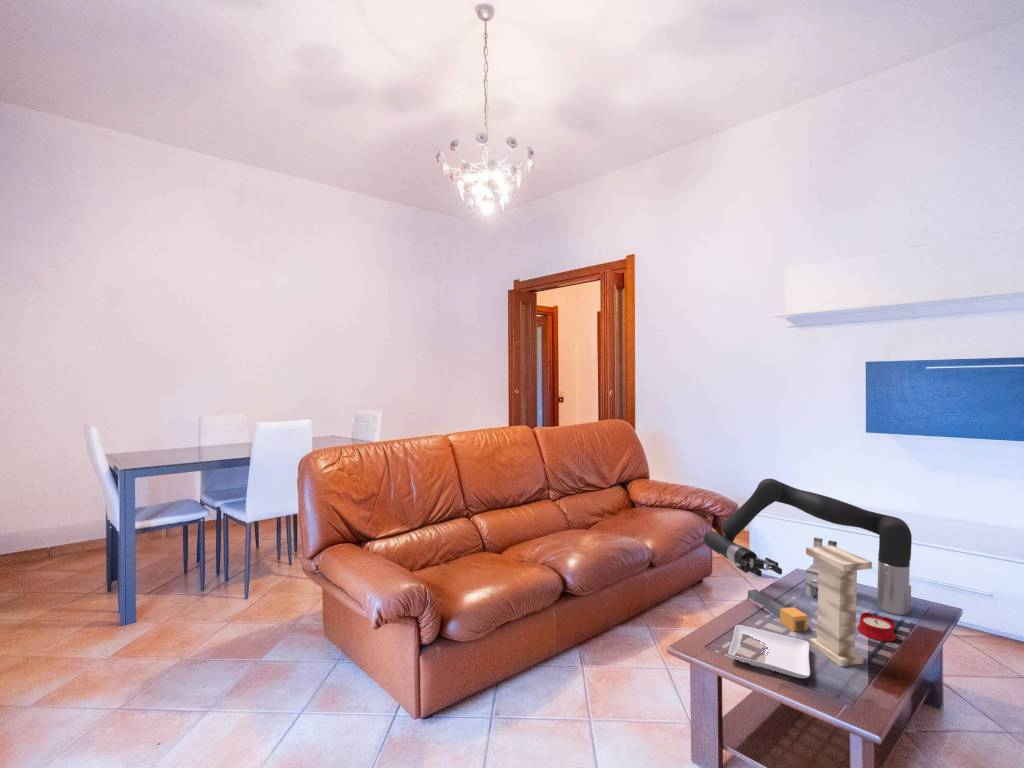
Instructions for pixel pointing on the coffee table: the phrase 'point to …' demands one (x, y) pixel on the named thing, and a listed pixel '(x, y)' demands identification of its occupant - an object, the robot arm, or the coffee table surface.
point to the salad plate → (776, 651)
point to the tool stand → (837, 603)
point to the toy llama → (815, 570)
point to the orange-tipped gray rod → (781, 611)
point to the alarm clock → (877, 627)
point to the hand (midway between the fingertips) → (771, 572)
